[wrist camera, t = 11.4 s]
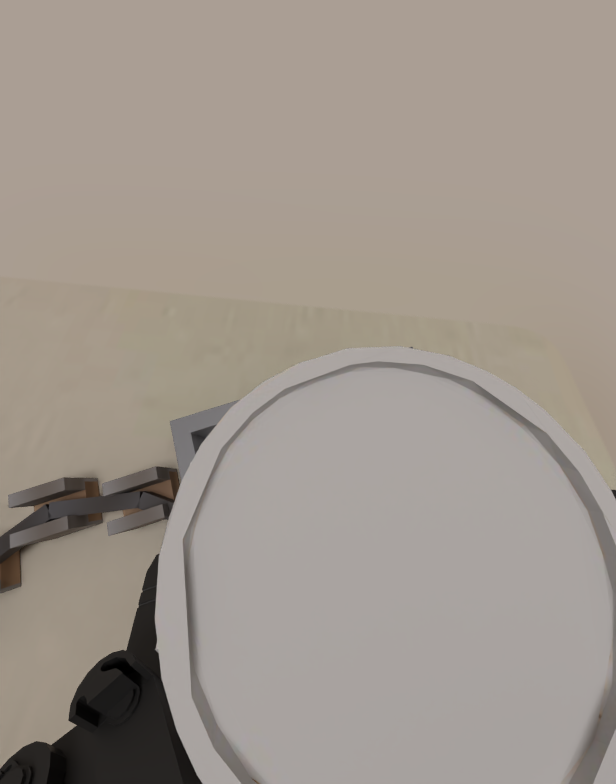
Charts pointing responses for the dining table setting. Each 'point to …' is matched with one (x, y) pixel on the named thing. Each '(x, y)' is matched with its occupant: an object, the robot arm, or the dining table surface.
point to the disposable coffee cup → (390, 584)
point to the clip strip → (85, 511)
